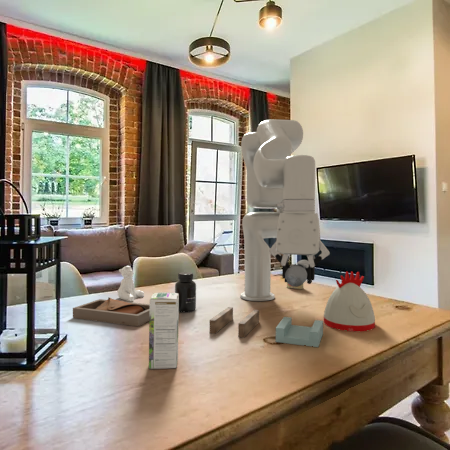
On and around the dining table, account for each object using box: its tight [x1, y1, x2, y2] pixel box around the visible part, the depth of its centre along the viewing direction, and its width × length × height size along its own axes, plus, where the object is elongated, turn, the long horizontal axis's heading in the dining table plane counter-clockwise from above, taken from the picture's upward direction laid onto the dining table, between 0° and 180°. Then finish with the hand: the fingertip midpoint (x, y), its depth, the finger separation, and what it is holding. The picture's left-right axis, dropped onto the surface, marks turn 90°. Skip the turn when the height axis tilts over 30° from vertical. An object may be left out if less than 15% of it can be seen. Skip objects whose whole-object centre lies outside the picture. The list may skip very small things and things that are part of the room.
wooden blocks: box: [209, 306, 260, 338], centre depth 101 cm, size 14×10×4 cm
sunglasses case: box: [96, 297, 146, 323], centre depth 112 cm, size 18×7×7 cm, turn 54°
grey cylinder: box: [284, 259, 309, 287], centre depth 92 cm, size 13×5×5 cm, turn 159°
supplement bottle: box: [174, 271, 197, 313], centre depth 119 cm, size 7×7×12 cm
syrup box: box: [148, 291, 180, 370], centre depth 77 cm, size 6×6×14 cm
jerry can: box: [286, 263, 305, 290], centre depth 153 cm, size 7×4×10 cm, turn 60°
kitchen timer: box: [323, 271, 376, 332], centre depth 105 cm, size 14×14×15 cm
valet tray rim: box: [72, 298, 150, 328], centre depth 112 cm, size 12×23×3 cm, turn 69°
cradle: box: [275, 316, 324, 348], centre depth 93 cm, size 10×10×4 cm
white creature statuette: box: [117, 265, 145, 303], centre depth 135 cm, size 10×9×12 cm
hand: (298, 281), depth 90 cm, fingers closed on grey cylinder, 4 cm apart
